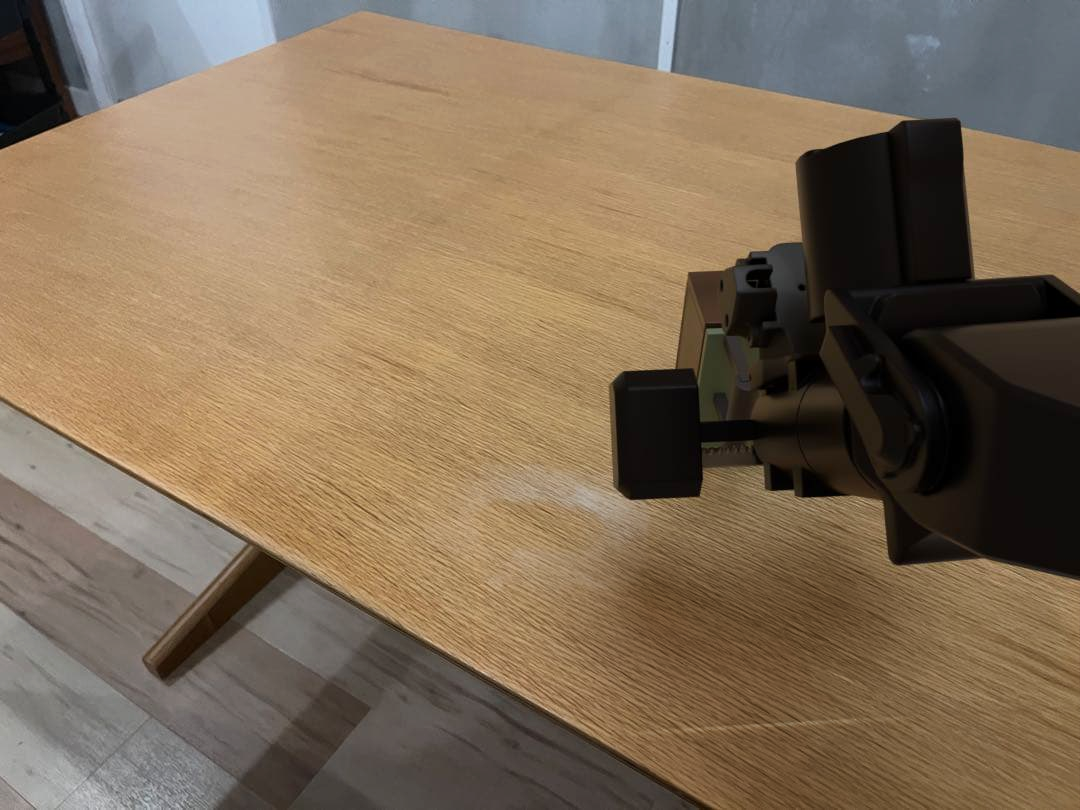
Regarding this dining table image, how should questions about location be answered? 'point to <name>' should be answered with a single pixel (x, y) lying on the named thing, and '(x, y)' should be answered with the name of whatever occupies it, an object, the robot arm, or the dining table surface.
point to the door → (726, 382)
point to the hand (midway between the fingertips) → (753, 428)
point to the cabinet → (698, 317)
